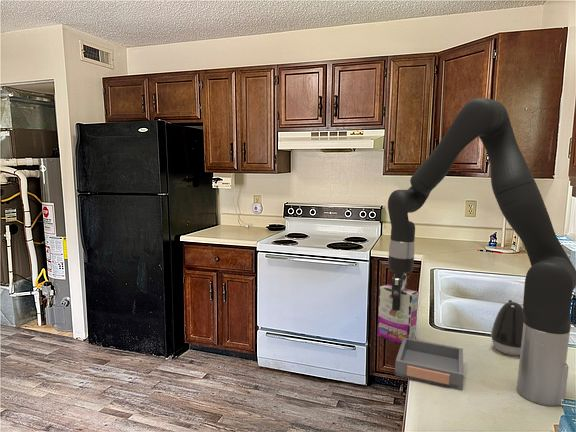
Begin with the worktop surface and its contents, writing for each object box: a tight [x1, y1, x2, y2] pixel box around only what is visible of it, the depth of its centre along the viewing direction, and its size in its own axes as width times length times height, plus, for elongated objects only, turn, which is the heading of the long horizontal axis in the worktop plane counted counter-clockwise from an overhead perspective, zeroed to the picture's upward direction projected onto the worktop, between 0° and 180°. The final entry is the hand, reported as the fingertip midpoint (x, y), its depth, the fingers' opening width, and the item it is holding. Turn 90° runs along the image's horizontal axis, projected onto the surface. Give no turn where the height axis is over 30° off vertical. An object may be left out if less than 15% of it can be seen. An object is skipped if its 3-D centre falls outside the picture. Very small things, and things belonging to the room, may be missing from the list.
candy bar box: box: [376, 283, 420, 345], centre depth 125 cm, size 11×5×16 cm, turn 45°
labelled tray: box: [394, 338, 464, 391], centre depth 107 cm, size 16×17×4 cm
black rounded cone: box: [490, 299, 524, 356], centre depth 119 cm, size 10×10×15 cm
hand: (397, 305), depth 125 cm, fingers open, 8 cm apart
